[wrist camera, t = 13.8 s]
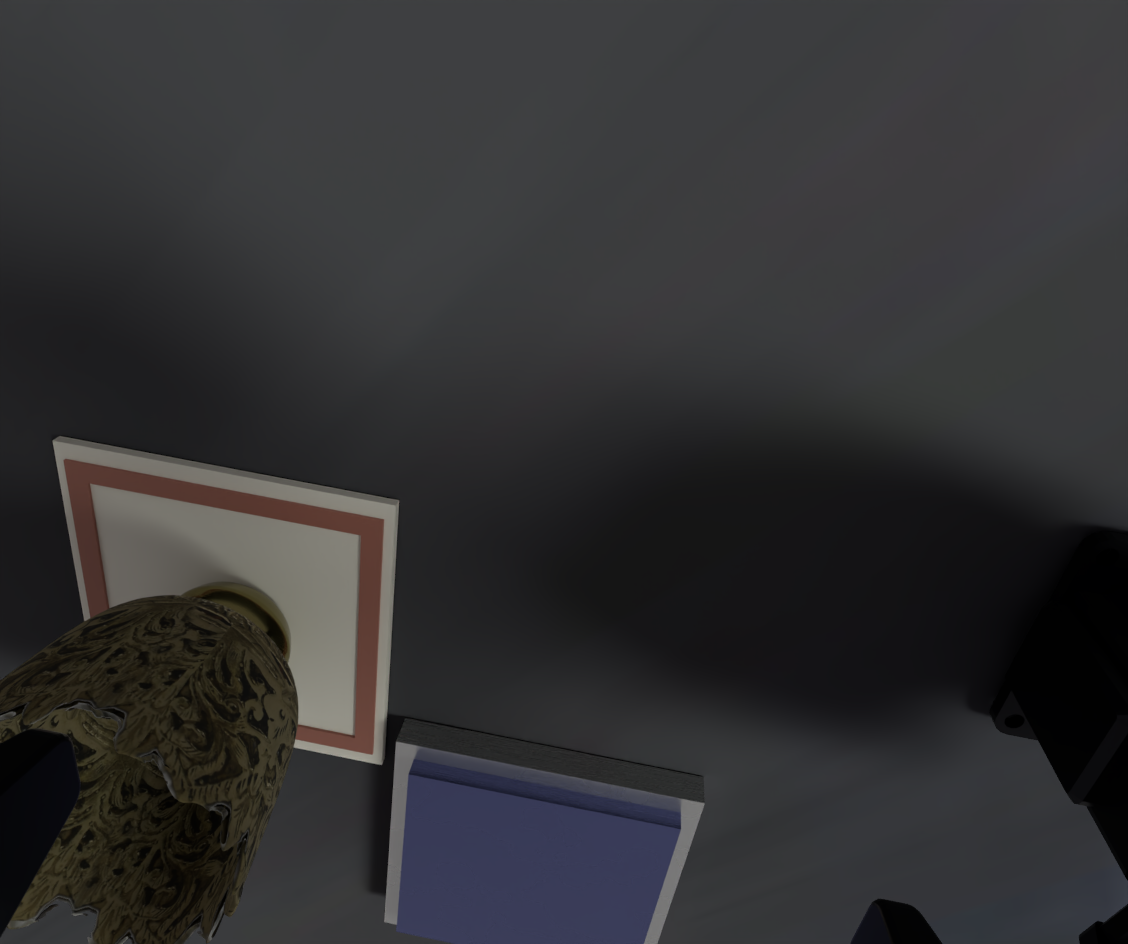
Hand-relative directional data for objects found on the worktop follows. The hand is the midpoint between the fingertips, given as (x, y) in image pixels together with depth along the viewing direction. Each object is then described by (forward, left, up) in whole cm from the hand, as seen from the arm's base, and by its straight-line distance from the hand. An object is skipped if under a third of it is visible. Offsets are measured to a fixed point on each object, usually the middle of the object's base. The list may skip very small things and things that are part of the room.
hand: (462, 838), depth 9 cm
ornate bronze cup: (+9, +9, -12) cm, 18 cm away
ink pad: (-1, +16, -12) cm, 21 cm away
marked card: (+9, +9, -12) cm, 18 cm away
